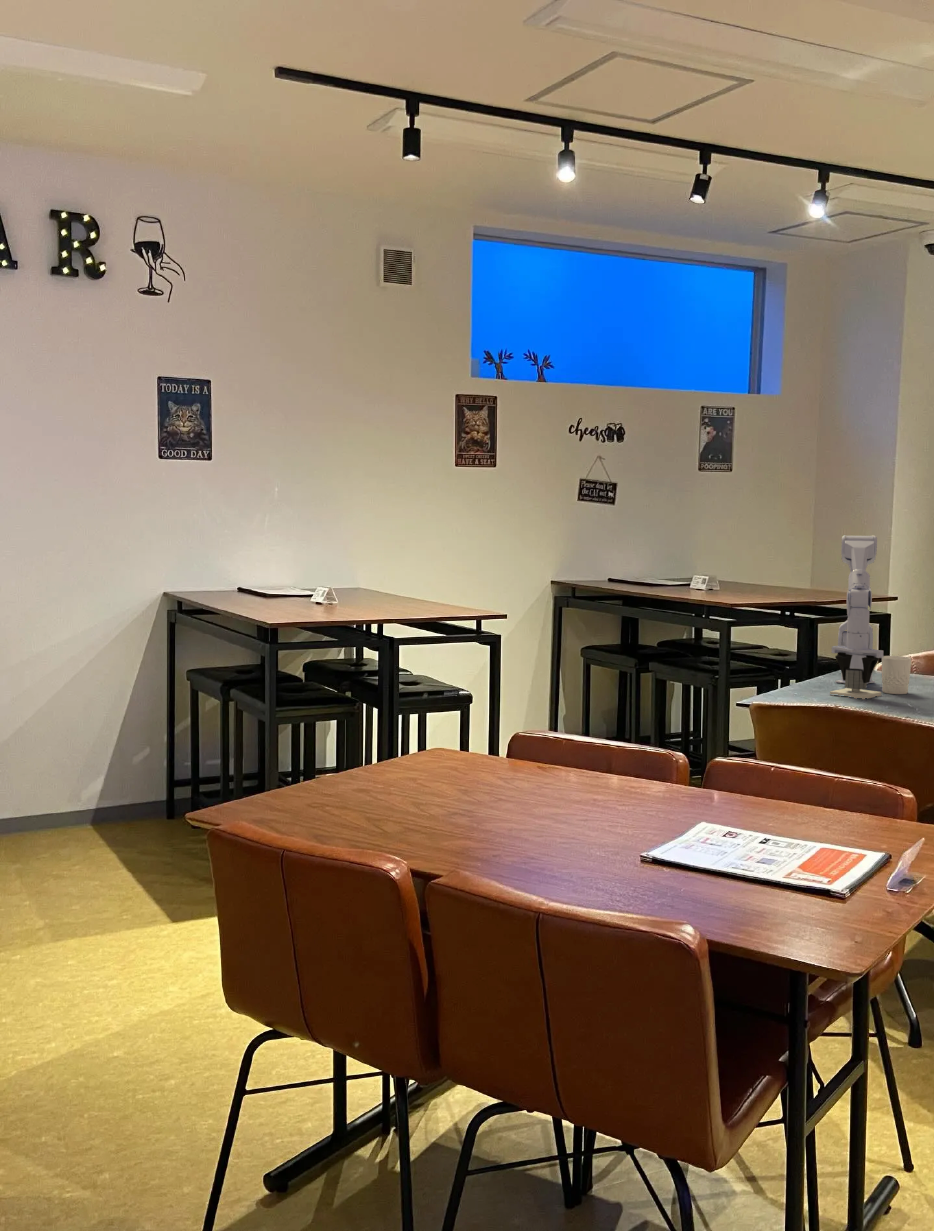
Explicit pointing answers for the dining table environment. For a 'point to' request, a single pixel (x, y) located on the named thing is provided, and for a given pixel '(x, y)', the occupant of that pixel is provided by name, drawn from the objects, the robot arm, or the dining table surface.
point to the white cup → (895, 674)
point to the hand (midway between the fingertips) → (856, 681)
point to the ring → (854, 679)
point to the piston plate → (856, 693)
